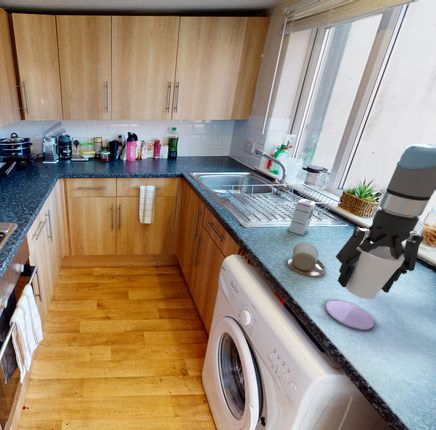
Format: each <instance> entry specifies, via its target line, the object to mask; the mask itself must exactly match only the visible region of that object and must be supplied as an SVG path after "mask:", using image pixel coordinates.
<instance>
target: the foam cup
mask: <svg viewBox="0 0 436 430" xmlns="http://www.w3.org/2000/svg"><path fill="white" fill-rule="evenodd" d="M362 242H363V241H362ZM362 242H361V243H362ZM370 242H371V243H372V244H373V242H372V241H370ZM361 243H360V244H361ZM357 250H359V251H361V252H362V253H361V255H360V257H359V260H358V261H357V262H356V263H354V264H353V266H354V267H355V268H354V270H353V272H352V275H351V277H350V279H349V281H348V283H347V285H346V287H345V289H346V291H348V292H349V293H351V294H352V295H354V296H356V297H358V298H361V299H366V300H373V299H375V297H376V296H377V295H378V294H379V292H380V291H381V290H382V287H383V286H384V285H385V284H386V282H387V281H388V280H389V279H390V277H391V276H392V275H393V274H394V272H395V271H396V270H397V269H398V268H399V267H400V266H401V265H402V263H403V261H404V259H405V258H404V256H403V255H404V253H402V255H400V256H399V258H398V259H397V260H396V259H395V258H394V257H392V256H391V253H390V248H389V247H386V246H383V247H380V246H378V247H377V248H376V249H372V250H371V251H370V252H368V253H367V252H365V251H362V250H361V249H360V248H359V247H357Z"/></svg>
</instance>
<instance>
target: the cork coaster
mask: <svg viewBox="0 0 436 430" xmlns="http://www.w3.org/2000/svg"><path fill="white" fill-rule="evenodd" d="M287 266H288V267H289V268H290V269H291V270H293V271H294V272H296V273H298V274H300V275H303V276H306V277H311V278H312V277H313V278H317V277H321V276H323V274H324V272H323V273H318V272H316V271H314V270H313V269H311V270H301V269H298V268H297V267H295V265H294V264H293V261H292V258H289V259H288V260H287ZM316 267H317V268H319V269H321V268H320V267H319V265H317V264H316Z"/></svg>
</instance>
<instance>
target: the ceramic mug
mask: <svg viewBox="0 0 436 430" xmlns="http://www.w3.org/2000/svg"><path fill="white" fill-rule="evenodd" d="M318 257H319V251H318V248H317V247H316V246H315V245H314V244H312V243H309V242H299V243H297V244H296V245H294V247H293V250H292V257H291V259H292V261H293V264H294V265H295V267H297V268H298V269H301V270H311V269H313V270H314V271H316V272H318V273H323V274H324V272H326V270H327V269H326V266H325V264H324V263H323V262H322V261H321V260H320V259H318ZM316 264H317V265H319V267H320V268H321V269H319V268H317V267H316Z"/></svg>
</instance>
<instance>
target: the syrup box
mask: <svg viewBox="0 0 436 430" xmlns="http://www.w3.org/2000/svg"><path fill="white" fill-rule="evenodd" d="M316 204H317V201H314V200H311V199H307V198H301V199H299V200H298V201H296V204H295V208H294V211H293V215H292V218H291V220H290V225H289V228H288V231H289V232H291V233H294V234H297V235H300V236H303V235H304V234H306V233H307V232H308V229H309V226H310V223H311V219H312V217H313V213H314V210H315V207H316Z"/></svg>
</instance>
